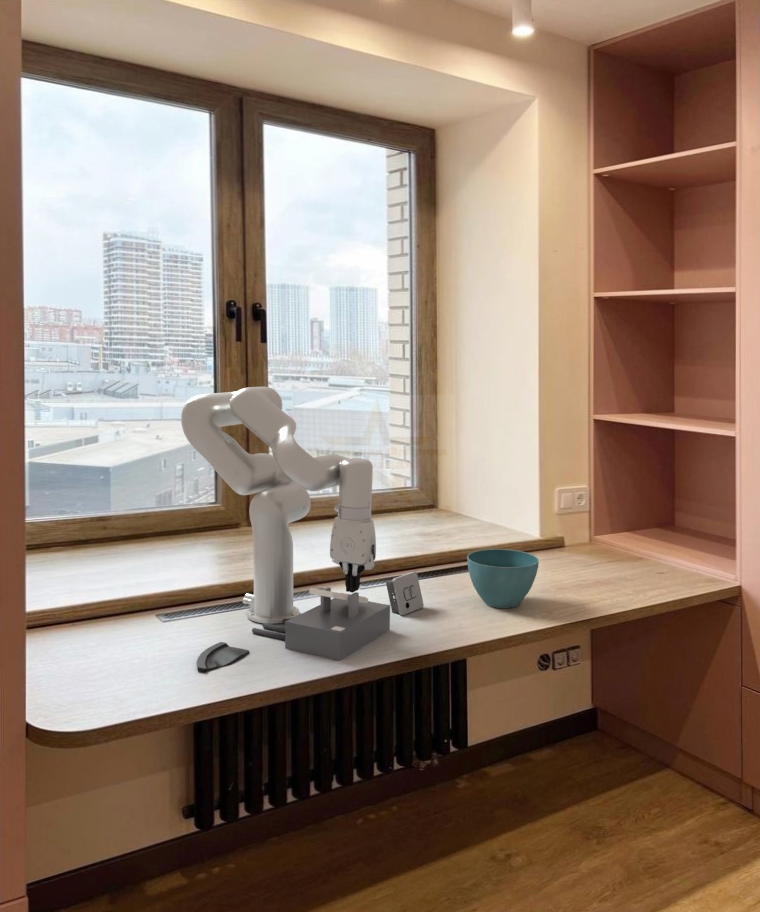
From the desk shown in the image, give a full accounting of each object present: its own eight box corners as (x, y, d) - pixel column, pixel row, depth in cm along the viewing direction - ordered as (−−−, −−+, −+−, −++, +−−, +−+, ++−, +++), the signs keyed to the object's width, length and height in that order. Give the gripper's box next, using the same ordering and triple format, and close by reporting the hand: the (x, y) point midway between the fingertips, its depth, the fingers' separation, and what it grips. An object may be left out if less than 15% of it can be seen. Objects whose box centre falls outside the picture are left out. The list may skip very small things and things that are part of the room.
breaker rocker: (309, 593, 177) (310, 587, 177) (345, 599, 191) (346, 593, 191) (332, 597, 174) (333, 591, 174) (367, 603, 188) (368, 597, 188)
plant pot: (543, 615, 203) (545, 567, 201) (470, 614, 202) (471, 566, 201) (529, 593, 221) (531, 549, 219) (462, 592, 220) (463, 548, 219)
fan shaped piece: (179, 670, 166) (179, 662, 166) (219, 648, 178) (219, 641, 178) (212, 677, 163) (212, 669, 162) (251, 655, 175) (251, 647, 175)
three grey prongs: (250, 633, 187) (250, 628, 186) (277, 620, 195) (277, 616, 195) (294, 643, 181) (294, 638, 180) (319, 629, 189) (320, 624, 189)
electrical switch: (402, 617, 200) (400, 579, 199) (385, 614, 203) (383, 577, 202) (424, 608, 207) (422, 572, 207) (408, 605, 210) (406, 570, 210)
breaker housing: (285, 648, 178) (285, 599, 176) (338, 619, 197) (339, 575, 195) (339, 660, 171) (340, 609, 170) (389, 630, 190) (390, 584, 189)
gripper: (318, 511, 186) (316, 589, 189) (375, 520, 179) (372, 600, 182) (335, 506, 193) (333, 581, 195) (391, 514, 186) (388, 592, 188)
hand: (352, 590), depth 189 cm, fingers closed
